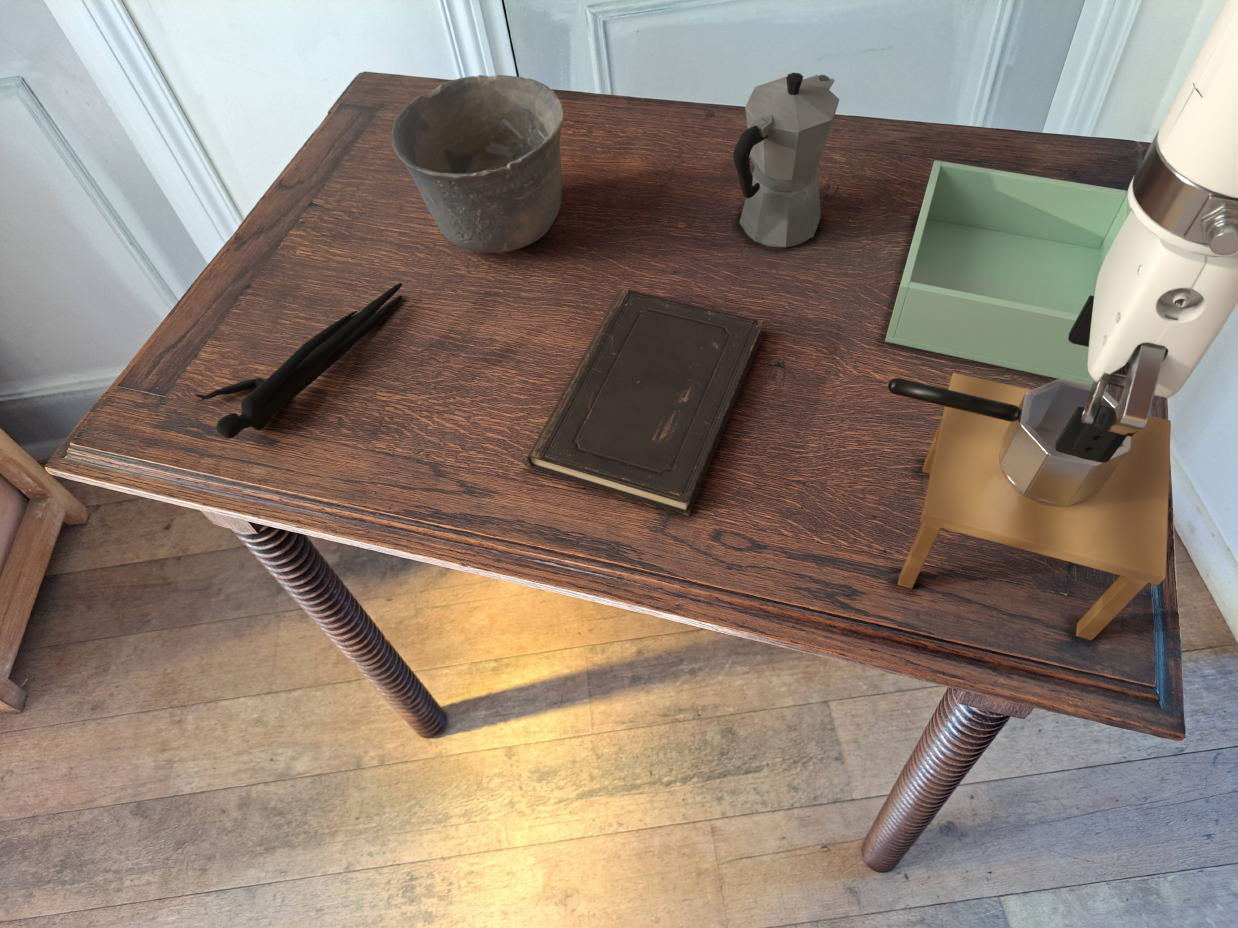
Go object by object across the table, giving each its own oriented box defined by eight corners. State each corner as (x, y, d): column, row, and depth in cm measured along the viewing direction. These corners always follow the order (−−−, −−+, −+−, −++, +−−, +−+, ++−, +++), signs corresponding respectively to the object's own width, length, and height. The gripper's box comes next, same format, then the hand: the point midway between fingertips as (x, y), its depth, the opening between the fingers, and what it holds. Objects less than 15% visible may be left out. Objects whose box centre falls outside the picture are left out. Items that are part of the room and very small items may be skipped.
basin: (1104, 251, 92) (1135, 191, 85) (1091, 386, 82) (1125, 329, 75) (918, 218, 97) (934, 160, 90) (884, 341, 87) (900, 285, 80)
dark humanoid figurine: (348, 229, 92) (155, 370, 80) (410, 275, 91) (224, 426, 79) (353, 277, 99) (175, 414, 87) (410, 320, 98) (239, 465, 86)
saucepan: (1103, 442, 64) (1134, 395, 59) (1095, 518, 60) (1128, 474, 56) (886, 390, 68) (899, 342, 64) (867, 458, 65) (880, 413, 60)
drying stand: (1107, 503, 75) (1171, 420, 65) (1096, 646, 67) (1166, 577, 58) (920, 457, 79) (953, 372, 69) (891, 587, 72) (923, 513, 62)
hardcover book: (762, 336, 88) (764, 320, 87) (688, 516, 77) (688, 502, 75) (619, 302, 93) (618, 286, 91) (529, 467, 81) (525, 453, 79)
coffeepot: (781, 177, 103) (796, 30, 88) (847, 209, 99) (875, 60, 84) (698, 245, 97) (699, 100, 82) (764, 282, 93) (778, 137, 78)
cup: (537, 303, 94) (513, 190, 81) (399, 269, 98) (357, 158, 86) (599, 201, 102) (586, 85, 90) (470, 175, 107) (441, 61, 95)
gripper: (1315, 322, 37) (1141, 519, 52) (1296, 97, 46) (1151, 318, 60) (1130, 286, 39) (1011, 485, 53) (1146, 76, 48) (1039, 295, 62)
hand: (1085, 396), depth 57 cm, fingers open, 9 cm apart
